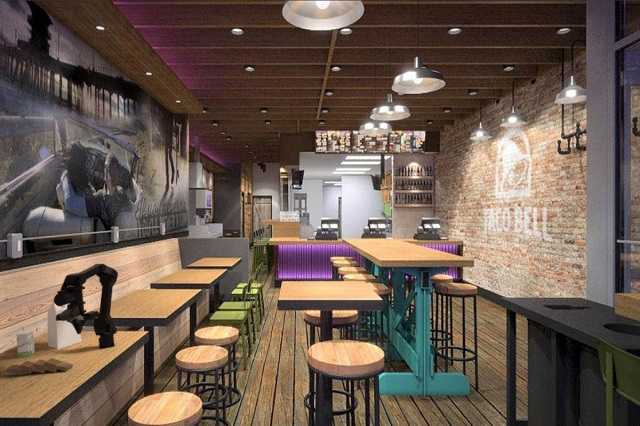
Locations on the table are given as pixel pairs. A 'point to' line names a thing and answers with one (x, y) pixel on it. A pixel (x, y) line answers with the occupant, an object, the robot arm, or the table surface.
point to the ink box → (25, 343)
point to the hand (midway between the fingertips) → (79, 333)
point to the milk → (60, 329)
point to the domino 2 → (16, 373)
